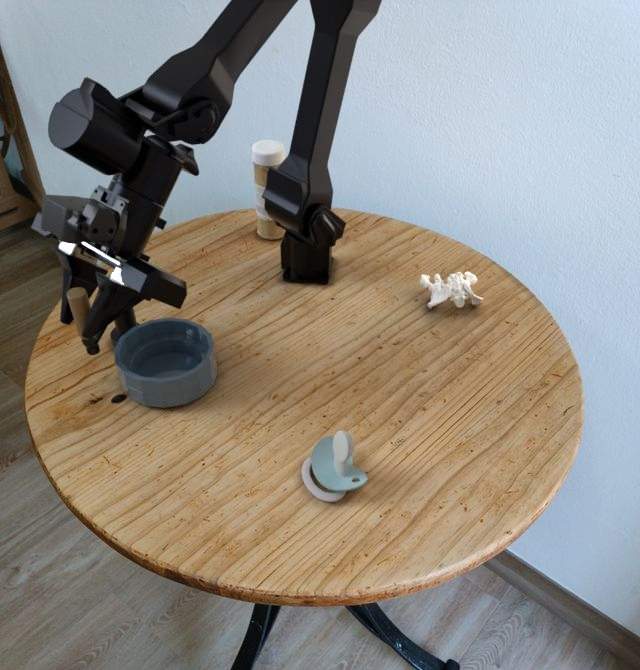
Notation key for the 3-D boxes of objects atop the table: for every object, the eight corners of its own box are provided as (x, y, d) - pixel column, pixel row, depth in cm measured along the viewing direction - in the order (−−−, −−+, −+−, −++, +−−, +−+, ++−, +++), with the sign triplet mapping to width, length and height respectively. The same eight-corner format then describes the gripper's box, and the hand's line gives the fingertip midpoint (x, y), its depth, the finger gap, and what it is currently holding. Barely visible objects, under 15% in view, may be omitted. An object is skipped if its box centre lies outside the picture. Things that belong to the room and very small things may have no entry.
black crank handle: (121, 325, 87) (99, 237, 78) (141, 327, 86) (122, 239, 77) (88, 386, 79) (60, 297, 70) (110, 388, 79) (84, 299, 70)
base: (152, 331, 88) (150, 323, 87) (141, 353, 85) (139, 346, 84) (118, 327, 88) (117, 320, 87) (107, 349, 85) (104, 342, 84)
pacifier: (319, 514, 69) (372, 495, 70) (317, 475, 64) (375, 455, 66) (291, 462, 73) (343, 445, 75) (288, 423, 69) (343, 405, 70)
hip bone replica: (475, 260, 93) (492, 285, 88) (470, 287, 96) (486, 313, 91) (418, 264, 92) (432, 289, 87) (415, 291, 95) (428, 318, 90)
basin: (226, 351, 85) (223, 322, 82) (204, 415, 78) (199, 386, 75) (139, 342, 86) (132, 313, 83) (108, 404, 79) (99, 375, 75)
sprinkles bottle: (292, 235, 104) (290, 148, 94) (266, 244, 102) (261, 156, 92) (276, 221, 107) (273, 135, 97) (251, 230, 105) (245, 143, 95)
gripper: (19, 130, 67) (-43, 275, 70) (145, 193, 59) (70, 354, 62) (102, 178, 77) (45, 303, 80) (219, 237, 69) (152, 374, 72)
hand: (75, 330), depth 73 cm, fingers open, 3 cm apart
